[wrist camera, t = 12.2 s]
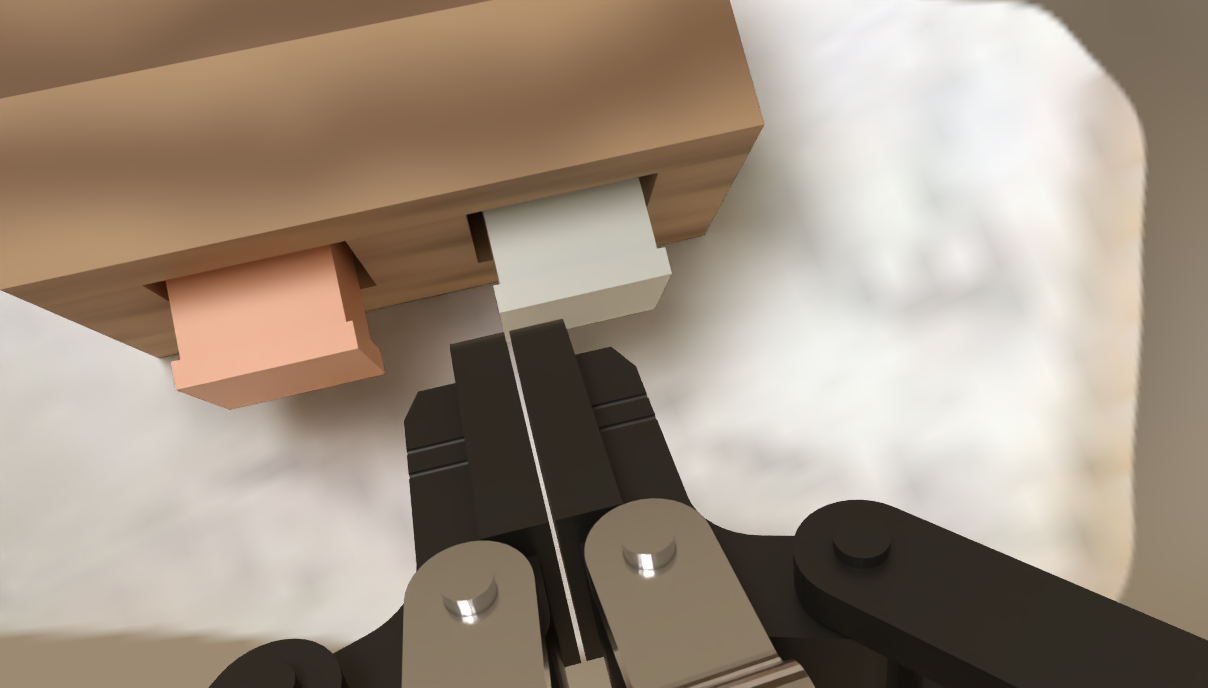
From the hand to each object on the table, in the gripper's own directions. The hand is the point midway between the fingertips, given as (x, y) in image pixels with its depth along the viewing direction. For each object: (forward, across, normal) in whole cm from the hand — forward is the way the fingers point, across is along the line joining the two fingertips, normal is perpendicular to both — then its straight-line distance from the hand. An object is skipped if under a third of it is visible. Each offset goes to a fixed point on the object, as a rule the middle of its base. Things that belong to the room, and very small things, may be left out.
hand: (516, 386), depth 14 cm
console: (+25, +2, +8) cm, 27 cm away
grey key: (+20, -2, +9) cm, 22 cm away
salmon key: (+20, +7, +9) cm, 23 cm away
